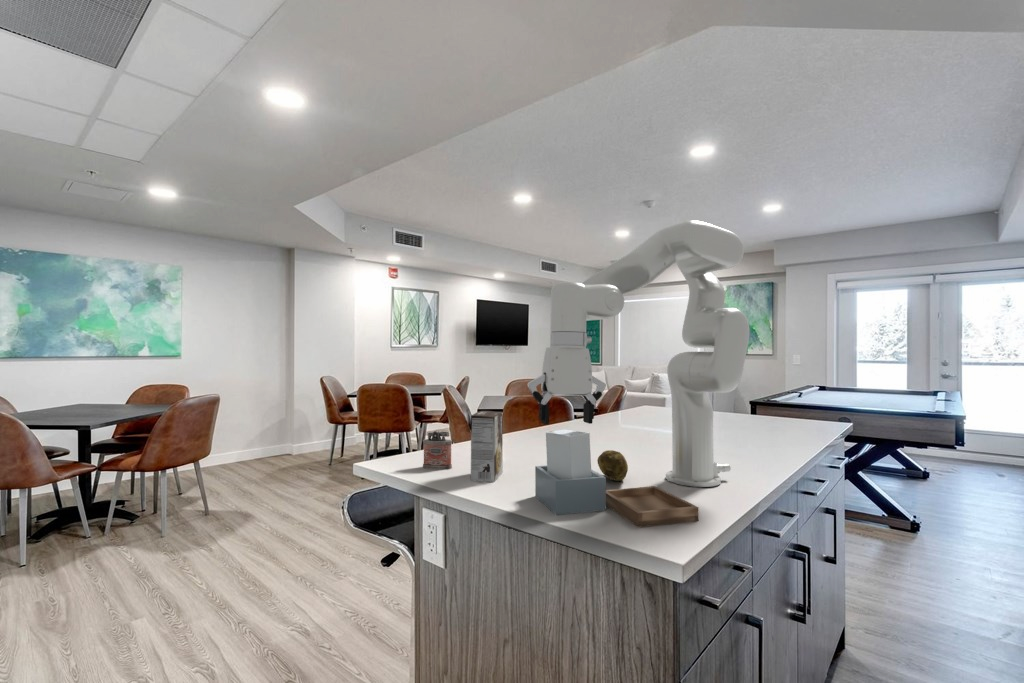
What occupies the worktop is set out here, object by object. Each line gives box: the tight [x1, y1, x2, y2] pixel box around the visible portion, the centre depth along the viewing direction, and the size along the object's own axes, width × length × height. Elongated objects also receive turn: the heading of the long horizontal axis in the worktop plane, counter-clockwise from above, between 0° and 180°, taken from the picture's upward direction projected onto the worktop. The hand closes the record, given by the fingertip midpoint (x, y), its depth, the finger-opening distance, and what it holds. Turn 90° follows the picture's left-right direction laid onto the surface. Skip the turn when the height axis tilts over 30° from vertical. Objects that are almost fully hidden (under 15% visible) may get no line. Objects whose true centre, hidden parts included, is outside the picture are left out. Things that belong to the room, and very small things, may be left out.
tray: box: [606, 485, 700, 528], centre depth 94 cm, size 13×15×2 cm
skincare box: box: [545, 429, 592, 480], centre depth 99 cm, size 8×6×15 cm
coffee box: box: [470, 410, 504, 483], centre depth 120 cm, size 9×6×16 cm
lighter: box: [422, 430, 453, 470], centre depth 129 cm, size 8×3×10 cm, turn 81°
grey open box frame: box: [534, 464, 607, 516], centre depth 99 cm, size 11×13×6 cm
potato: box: [596, 449, 629, 482], centre depth 116 cm, size 8×13×8 cm, turn 153°
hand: (566, 423), depth 99 cm, fingers open, 9 cm apart
